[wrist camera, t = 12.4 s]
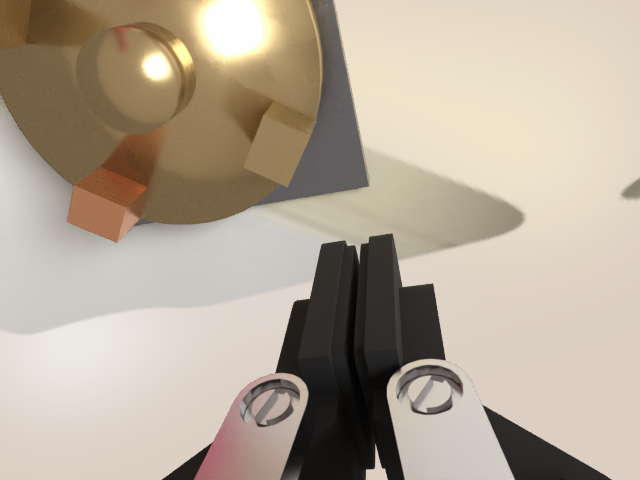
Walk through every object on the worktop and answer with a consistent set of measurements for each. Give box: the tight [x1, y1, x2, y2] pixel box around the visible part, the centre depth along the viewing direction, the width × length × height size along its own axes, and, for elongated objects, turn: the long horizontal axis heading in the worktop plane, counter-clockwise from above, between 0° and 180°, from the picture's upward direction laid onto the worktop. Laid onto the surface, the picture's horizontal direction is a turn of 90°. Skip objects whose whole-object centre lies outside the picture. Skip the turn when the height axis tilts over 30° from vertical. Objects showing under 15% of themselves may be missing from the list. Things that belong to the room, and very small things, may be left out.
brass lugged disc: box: [0, 0, 323, 243], centre depth 31 cm, size 22×22×6 cm
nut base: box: [134, 0, 369, 226], centre depth 35 cm, size 24×24×3 cm
